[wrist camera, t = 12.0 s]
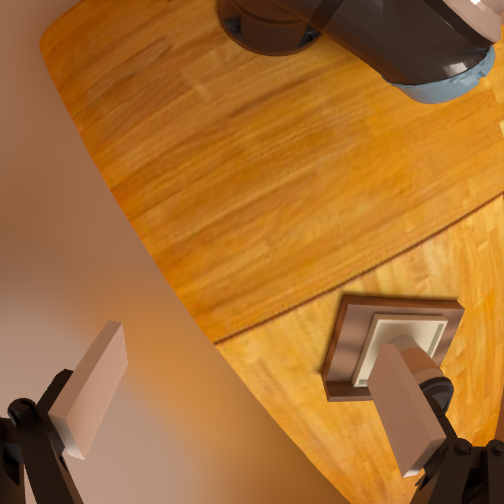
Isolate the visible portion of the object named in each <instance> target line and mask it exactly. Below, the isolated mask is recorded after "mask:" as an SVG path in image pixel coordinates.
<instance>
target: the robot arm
mask: <svg viewBox="0 0 504 504" xmlns="http://www.w3.org/2000/svg"><path fill="white" fill-rule="evenodd" d="M218 9H219V16H220V20H221V23H222V26H223V28H224V30H225V31H226V33H227V34H228V35H229V37H230V38H231V39H232V40H233V41H234V42H236V43H237V44H238V45H240V46H241V47H243V48H245V49H247V50H249V51H251V52H254V53H257V54H260V55H266V56H288V55H293V54H296V53H299V52H301V51H304V50H306V49H307V48H309V47H311V46H312V45H313V44H314V43H315V42H317V40H318V39H319V38H320V37H321V35H322V34H324V35H326V36H327V37H329V38H331V39H332V40H334V41H335V42H337V43H338V44H340V45H341V46H343V47H344V48H345V49H347V50H348V51H350V52H351V53H353V54H354V55H355V56H357V57H358V58H360V59H361V60H362V61H364V62H365V63H366V64H368V65H369V66H370V67H372V68H373V69H374V70H376V71H377V72H378V73H380V74H381V76H382V78H383V79H384V80H385V81H386V82H387V83H389V84H391V85H393V86H395V87H397V88H398V89H400V90H401V91H402V92H403V93H405V94H406V95H407V96H408V97H410V98H411V99H413V100H415V101H418V102H420V103H424V104H438V103H443V102H447V101H450V100H453V99H455V98H458V97H460V96H462V95H463V94H465V93H467V92H468V91H470V90H471V89H473V88H474V87H475V86H477V85H478V84H479V79H480V78H482V77H486V76H487V74H488V73H489V72H490V70H491V68H492V66H493V64H494V61H495V50H494V48H493V44H495V43H496V42H498V41H499V40H500V39H501V18H502V16H503V15H504V0H219V5H218ZM127 366H128V362H127V356H126V348H125V341H124V333H123V325H122V322H116V321H110V320H109V321H108V322H107V323H106V325H105V326H104V327H103V329H102V330H101V332H100V333H99V335H98V336H97V338H96V339H95V341H94V342H93V343H92V345H91V346H90V348H89V350H88V351H87V352H86V354H85V355H84V357H83V358H82V360H81V361H80V363H79V364H78V366H77V367H76V369H75V371H71V370H67V369H64V370H63V371H61V372H60V373H58V374H57V375H56V376H55V378H54V379H53V381H52V383H51V384H50V385H49V387H48V388H47V390H46V391H45V393H44V394H43V396H42V397H41V399H40V400H39V402H38V403H37V405H36V404H35V402H33V401H32V400H30V399H27V398H19V399H16V400H14V401H13V402H12V403H11V404H10V405H9V407H8V412H7V413H8V415H9V417H10V419H9V418H1V417H0V504H26V501H25V487H24V465H25V469H26V472H27V475H28V479H29V482H30V485H31V488H32V491H33V494H34V497H35V500H36V503H37V504H84V503H83V501H82V499H81V497H80V495H79V493H78V491H77V488H76V486H75V484H74V482H73V479H72V477H71V475H70V473H69V470H68V468H67V465H66V463H65V460H64V458H63V456H62V452H63V450H64V448H65V449H66V451H67V452H68V454H69V455H71V456H74V457H77V458H80V459H83V460H85V458H86V456H87V454H88V451H89V449H90V446H91V444H92V442H93V439H94V437H95V435H96V432H97V430H98V428H99V426H100V424H101V421H102V419H103V417H104V415H105V412H106V410H107V408H108V406H109V404H110V401H111V399H112V397H113V395H114V393H115V391H116V389H117V386H118V384H119V382H120V380H121V378H122V375H123V374H124V372H125V369H126V367H127ZM366 383H367V386H368V388H369V391H370V393H371V396H372V398H373V401H374V403H375V406H376V408H377V411H378V413H379V416H380V418H381V421H382V424H383V426H384V429H385V431H386V434H387V437H388V439H389V442H390V445H391V447H392V450H393V453H394V455H395V458H396V461H397V464H398V466H399V469H400V472H401V475H402V478H403V477H408V476H412V475H417V474H418V473H419V471H420V470H421V469H422V468H424V470H425V474H424V475H423V476H422V477H421V478H420V479H419V481H418V482H417V483H416V484H415V486H417V485H418V484H419V485H418V488H417V490H416V492H415V494H414V496H413V498H412V500H411V502H410V504H504V443H503V442H502V441H500V440H496V439H495V440H491V441H489V442H488V444H487V445H486V446H485V447H474V446H472V445H471V443H470V442H469V441H467V440H465V439H462V438H458V437H457V435H456V433H455V431H454V429H453V428H452V426H451V424H450V422H449V420H448V419H447V417H445V413H444V412H443V410H442V408H441V406H440V405H439V403H438V401H437V400H436V399H434V398H433V397H432V396H431V395H424V394H423V392H422V391H421V389H420V387H419V385H418V384H417V382H416V380H415V378H414V377H413V375H412V373H411V372H410V370H409V368H408V366H407V365H406V363H405V361H404V360H403V358H402V356H401V355H400V353H399V351H398V350H397V348H396V346H395V345H394V344H381V347H380V349H379V352H378V355H377V357H376V360H375V363H374V365H373V368H372V370H371V373H370V375H369V378H368V380H367V382H366Z"/></svg>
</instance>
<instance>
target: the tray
mask: <svg viewBox="0 0 504 504" xmlns="http://www.w3.org/2000/svg"><path fill="white" fill-rule="evenodd" d="M447 322H448V320H447V319H446V318H445V317H444V316H435V315H396V314H374V317H373V321H372V324H371V327H370V330H369V333H368V336H367V339H366V342H365V345H364V348H363V351H362V353H361V356H360V359H359V362H358V364H357V367H356V370H355V373H354V375H353V378H352V380H351V381H352V384H353V386H354V387H368V386H367V383H366V382H367V380H368V378H369V375H370V373H371V370H372V368H373V365H374V363H375V360H376V357H377V355H378V352H379V349H380V347H381V344H387V343H388V342H390V341H391V340H392V339H394V338H396V337H399V336H404V335H406V336H410V337H412V338H413V339H414V340H415V341H416V343H417V344H418V345H419V346H420V347H421V348H422V349H423V350H424V351H425V352H426V353H427V354H428V355H429V356H430V358H431V359H432V357H433V355H434V353H435V350H436V348H437V346H438V344H439V341H440V339H441V337H442V334H443V332H444V329H445V327H446V324H447Z"/></svg>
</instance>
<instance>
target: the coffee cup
mask: <svg viewBox="0 0 504 504" xmlns="http://www.w3.org/2000/svg"><path fill="white" fill-rule="evenodd" d="M387 344H394V345H395V346H396V348H397V350H398V351H399V353H400V355H401V356H402V358H403V360H404V361H405V363H406V365H407V366H408V368H409V370H410V372H411V373H412V375H413V377H414V378H415V380H416V382H417V384H418V385H419V387H420V389H421V391H422V392H423V394H424V395H431V396H432V397H433V398H434V399H436V400H437V401H438V403H439V405H440V406H441V408H442V410H443V412H444V413H446V412H447V410H448V407H449V404H450V401H451V398H452V395H453V392H454V387H453V385H452V383H451V381H450V379H448V378H446V377H445V376H444V374H443V372H442V371H441V369H440V368H439V367H438V366H437V365H436V363H435V362H434V361H433V360H432V359H431V358H430V356H429V355H428V354H427V353H426V352H425V351H424V350H423V349H422V348H421V347H420V346H419V345H418V344H417V343H416V341H415V340H414V339H413V338H412V337H410V336H406V335H404V336H399V337H396V338H394V339H392V340H391V341H390V342H388V343H387Z"/></svg>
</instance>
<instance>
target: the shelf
mask: <svg viewBox="0 0 504 504" xmlns="http://www.w3.org/2000/svg"><path fill="white" fill-rule="evenodd" d="M464 310H465V309H464V308H463V307H462V306H461V305H460V304H459V303H458V302H457V301H433V300H412V299H394V298H377V297H362V296H347V295H343V299H342V303H341V307H340V311H339V315H338V319H337V323H336V326H335V330H334V333H333V337H332V341H331V344H330V348H329V351H328V354H327V358H326V361H325V364H324V368H323V371H322V374H321V377H322V381H323V385H324V389H325V392H326V396H327V400H328V402H343V401H368V400H373V398H372V396H371V393H370V391H369V388H368V387H354V386H353V384H352V381H351V380H352V378H353V375H354V373H355V370H356V367H357V364H358V362H359V359H360V356H361V353H362V351H363V348H364V345H365V342H366V339H367V336H368V333H369V330H370V327H371V324H372V321H373V317H374V314H396V315H435V316H444V317H445V318H446V319H447V320H448V322H447V324H446V327H445V329H444V332H443V334H442V337H441V339H440V341H439V344H438V346H437V348H436V350H435V353H434V355H433V357H432V360H433V361H434V362H435V363H436V365H437V366H438V367H440V365H441V363H442V361H443V359H444V357H445V355H446V353H447V351H448V348H449V346H450V344H451V342H452V339H453V337H454V335H455V333H456V330H457V328H458V325H459V323H460V320H461V318H462V315H463V313H464Z"/></svg>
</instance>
